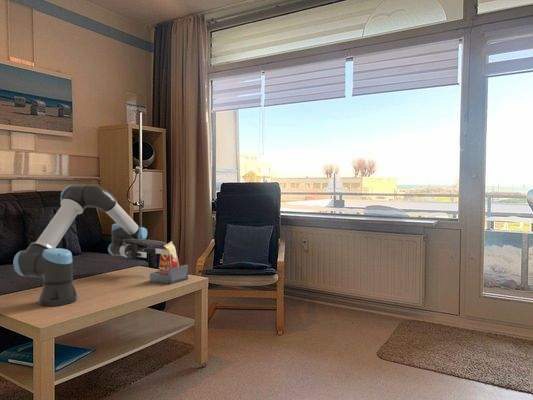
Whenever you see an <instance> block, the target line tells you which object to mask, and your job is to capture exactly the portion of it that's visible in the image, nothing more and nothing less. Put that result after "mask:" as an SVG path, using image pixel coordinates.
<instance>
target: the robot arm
mask: <svg viewBox="0 0 533 400" xmlns="http://www.w3.org/2000/svg"><path fill="white" fill-rule="evenodd" d="M59 200H60V207H59V209H58V210H57V212H56V213H55V215H53V217H52V219H51V220H50V221H49V223H48V225H47V226H46V227H45V229H43V232H42V233H41V234H40V236H39V237H38V238H37V240H36V241H35V242H31V243H30V244H29V245H28V246H27V248H26V250H25V249H23V250H19V251H18V252H17V253H16V254H15V255H14V258H13V262H12V263H13V269H14V271H15V273H17V275H19V276H21V277H26V278H32V277H33V278H43V279H42V280H43V283H42V285H43V286H42V289H41V292H40V296H39V298H38V305H40V306H43V307H58V306H65V305H68V304H72V303H75V302H77V300H78V293H77V292H76V288H75V286H74V283H73V280H74V279H73V271H74V269H73V268H74V267H73V262H74V261H73V254H72V252H71V251H70V250H69V249H66V248H57V246H58V245H59V243H60V242H61V240H62V238H64V236H65V234H66V233H67V231H68V229H69V228H70V226H71V225H72V223H73V222H74V220H75V219H76V218H77V215H81V214H83V212H84V211H85V209H86V208H94V209H95V208H96V209H98V210H100V211H101V212H103V213H106V214H107V215H108V216H109V217H110V218H111V219H112V220H113V221H114V222H115V223H113V224H111V243H110V244H109V245H108V247H107V251H108V253H109V254H110V255H112V256H117V257H125V259H126V258H134V259H137V258H144V259H145V258H146V259H147V254H158V255H159V254H160V255H161V250H162V249H163V248H159V247H157V246H156V247H139V246H138V245H136V244H131V243H126V240H129V241H130V240H131V241H132V240H133V241H144V240H146V239H147V237H148V229H147V228H145V227H143V226H141V227H140V226H139V225H138V224H137V223H136V222H135V220H133V218H132V217H131V216H130V215H129V214H128V213H127V212H126V211H125V210H124V209H123V207H121V205H120V204H118V201H117V198H116V197H114V195H113V194H112V193H110V192H109V191H108V190H106V188H103V187H101V186H99V185H96V184H71V185H67V186H66V187H64V188H63V189H62V190H61V193H60V199H59Z"/></svg>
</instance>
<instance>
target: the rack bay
mask: <svg viewBox="0 0 533 400" xmlns="http://www.w3.org/2000/svg"><path fill="white" fill-rule="evenodd" d="M187 280H189V265H188V264H184V265H179V267H175V268H171V269H168V275H166V274H159V270H157V271H153V272H149V281H150V282H153V283H159V284H164V285H165V284H166V285H172V284H177V283H180V282H183V281H184V282H185V281H187Z"/></svg>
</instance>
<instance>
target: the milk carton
mask: <svg viewBox="0 0 533 400" xmlns="http://www.w3.org/2000/svg"><path fill="white" fill-rule="evenodd" d="M161 249H162V250H161V254H160V256H159V266H158V271H159V274H166V275H168V269H171V268H175V267H179V266H180V264H179V258H178V254H177V250H176V246H175V245H174V243H173V241H170V242H168V243H167V244H164V245H163V247H162V248H161Z"/></svg>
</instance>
